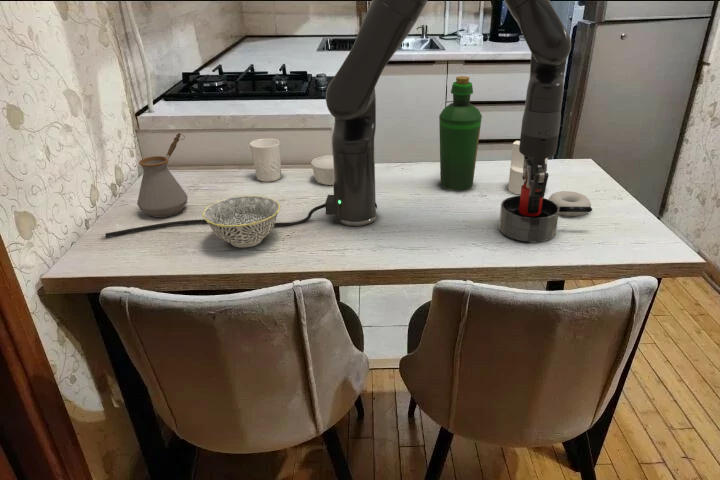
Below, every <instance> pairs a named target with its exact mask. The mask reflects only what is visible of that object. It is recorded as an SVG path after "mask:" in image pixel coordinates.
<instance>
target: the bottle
mask: <svg viewBox="0 0 720 480" xmlns="http://www.w3.org/2000/svg"><path fill="white" fill-rule="evenodd" d="M450 93H451V94H452V102H451V103H450V104H448V105H447V106H445V107H444V108H443V109H442V111H441V112H440V114H439V124H438V125H439V167H440V168H439V170H440V180H439V181H440V185H441V186H442V187H443V188H445V189H447V190H449V191H456V192H459V191H460V192H461V191H465V190H468V189H471V188H472V187H473V185H474V179H475V170H476V163H477V155H478V150H479V149H478V148H479V141H480V132H481V127H482V126H481V125H482V118H483V115H482V114H481V111H480V110H479V108H477V107H476V106H475V105H474V104H472V103H470V102H471V95H473V94H474V88H473V83H472V82H471V81H470V76H464V75H459V76H456V77H455V81H453V83H452V85H451V90H450Z"/></svg>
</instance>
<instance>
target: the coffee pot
mask: <svg viewBox="0 0 720 480" xmlns="http://www.w3.org/2000/svg"><path fill="white" fill-rule="evenodd" d="M181 136H183V138H181ZM185 139H186V136H185V135H184V134H183V133H181V132H178V133H177V134H176V136H175V137H174V138H173V141H172V143H170V146H169V148H168V151H167V153H166V155H165V156H163V155H155V156H148V157H145V158H142V159H140V160H139V161H138V165H139V166H141V168H142V169H143V170H142V171H143V173H142V178H141V182H140V186H139V187H140V188H139V193H138V197H137V202H136V205H137V206H138V208H139V209H140V211H142V212H143V213H145V214H147V215H148V216H150V217H153V218H167V217H171V216H175V215H176V214H179V213H180V212H181V211H182V210H183V209H184V207H185V206H186V204H187V202H188V194H187V193H186V192H185V190H184V189H183V188H182V186H181V185H180V183H179V182H178V180H177V179H176V178H175V176H174V175H173V174H172V172H171V170H169V168H168V163H169V160H170V158H171V156H172V154H173V153H174V151H175V149H176V148H177V144H178V142H180V141H183V140H185Z"/></svg>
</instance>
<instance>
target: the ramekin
mask: <svg viewBox="0 0 720 480" xmlns="http://www.w3.org/2000/svg"><path fill="white" fill-rule="evenodd" d="M310 166H311V169H312V172H313V176H314V180H315V181H316V182H317V183H319V184H321V185H326V186H333V184H334V181H335V179H334V163H333V154H331V155H330V154H329V155H322V156H319V157H316V158H313V159H312V160H311V162H310Z"/></svg>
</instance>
